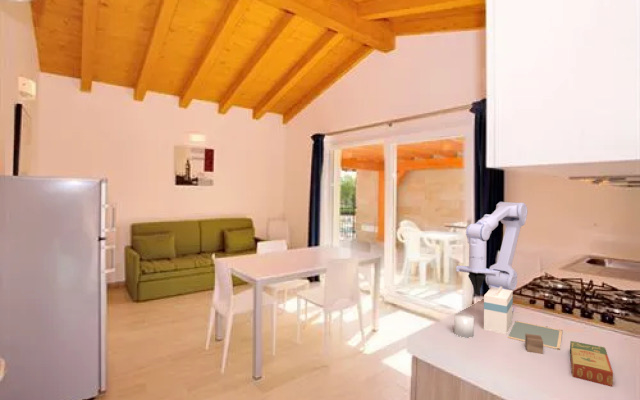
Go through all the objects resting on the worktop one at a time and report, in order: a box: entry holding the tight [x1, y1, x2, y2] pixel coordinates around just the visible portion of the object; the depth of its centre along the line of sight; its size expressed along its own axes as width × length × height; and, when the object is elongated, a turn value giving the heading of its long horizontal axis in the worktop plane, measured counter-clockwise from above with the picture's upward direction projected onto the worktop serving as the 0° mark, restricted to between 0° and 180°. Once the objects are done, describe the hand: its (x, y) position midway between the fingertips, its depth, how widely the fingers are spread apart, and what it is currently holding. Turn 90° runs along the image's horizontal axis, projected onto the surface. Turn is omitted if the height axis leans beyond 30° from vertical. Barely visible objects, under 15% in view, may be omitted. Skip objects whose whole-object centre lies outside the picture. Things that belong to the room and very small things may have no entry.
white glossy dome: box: [453, 312, 475, 339], centre depth 115 cm, size 6×6×6 cm
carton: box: [569, 340, 614, 388], centre depth 93 cm, size 8×16×4 cm, turn 146°
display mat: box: [507, 320, 563, 351], centre depth 114 cm, size 17×14×1 cm
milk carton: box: [483, 286, 514, 335], centre depth 121 cm, size 12×7×13 cm, turn 143°
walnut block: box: [524, 334, 544, 355], centre depth 104 cm, size 4×4×4 cm
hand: (477, 293), depth 125 cm, fingers closed
